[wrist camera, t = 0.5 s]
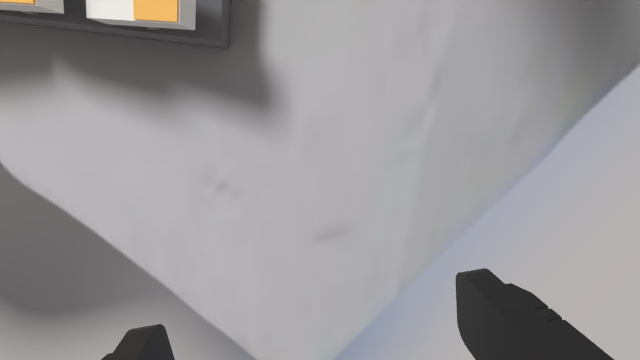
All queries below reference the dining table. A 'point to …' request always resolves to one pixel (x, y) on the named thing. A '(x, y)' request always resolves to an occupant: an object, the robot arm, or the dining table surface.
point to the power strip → (207, 26)
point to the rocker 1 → (33, 5)
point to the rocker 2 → (144, 13)
